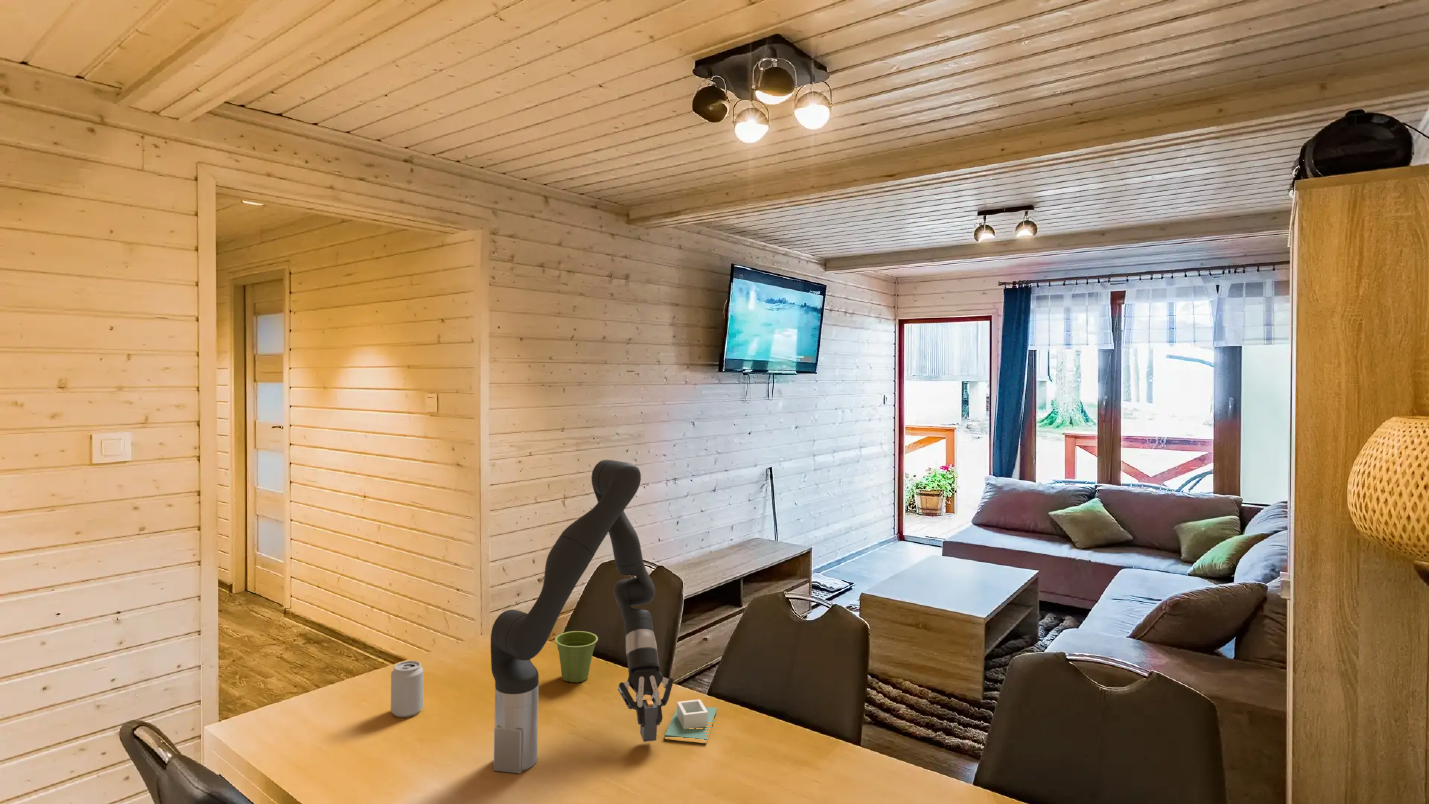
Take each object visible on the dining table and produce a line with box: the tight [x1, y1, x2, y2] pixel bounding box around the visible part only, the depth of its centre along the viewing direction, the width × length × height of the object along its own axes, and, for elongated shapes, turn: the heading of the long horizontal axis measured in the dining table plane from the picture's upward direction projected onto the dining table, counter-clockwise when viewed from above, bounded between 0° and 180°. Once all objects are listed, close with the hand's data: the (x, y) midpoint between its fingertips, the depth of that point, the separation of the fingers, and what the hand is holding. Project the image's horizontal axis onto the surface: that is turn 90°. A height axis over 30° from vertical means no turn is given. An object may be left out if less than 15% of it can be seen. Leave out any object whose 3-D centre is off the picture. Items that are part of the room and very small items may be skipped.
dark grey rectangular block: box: [639, 698, 658, 743], centre depth 169 cm, size 4×3×8 cm
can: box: [390, 660, 424, 718], centre depth 182 cm, size 8×8×12 cm
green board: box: [664, 706, 718, 740], centre depth 179 cm, size 16×10×1 cm, turn 171°
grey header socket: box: [676, 699, 708, 729], centre depth 179 cm, size 7×6×4 cm
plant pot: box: [554, 630, 599, 683], centre depth 204 cm, size 12×12×11 cm
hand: (650, 724), depth 167 cm, fingers closed on dark grey rectangular block, 3 cm apart
